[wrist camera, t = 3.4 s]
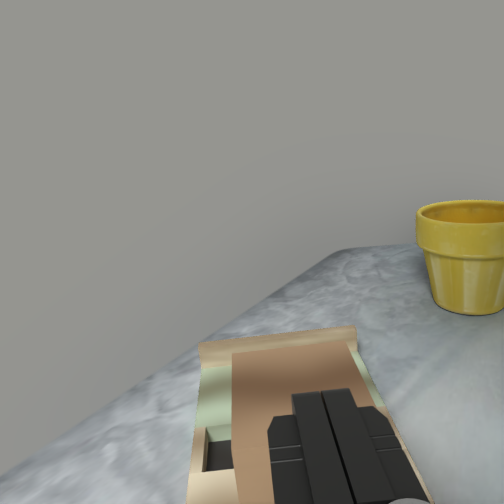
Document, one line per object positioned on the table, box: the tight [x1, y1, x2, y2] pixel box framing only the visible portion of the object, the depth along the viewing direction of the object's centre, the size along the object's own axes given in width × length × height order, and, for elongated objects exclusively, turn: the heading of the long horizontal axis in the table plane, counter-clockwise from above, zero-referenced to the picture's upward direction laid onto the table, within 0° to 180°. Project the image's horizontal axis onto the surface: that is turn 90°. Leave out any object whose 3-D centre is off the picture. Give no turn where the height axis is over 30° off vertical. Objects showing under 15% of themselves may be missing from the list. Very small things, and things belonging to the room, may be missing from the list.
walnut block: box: [231, 341, 378, 504], centre depth 22 cm, size 7×6×8 cm
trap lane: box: [186, 325, 435, 504], centre depth 29 cm, size 20×13×4 cm, turn 2°
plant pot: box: [416, 200, 504, 315], centre depth 45 cm, size 10×10×10 cm
